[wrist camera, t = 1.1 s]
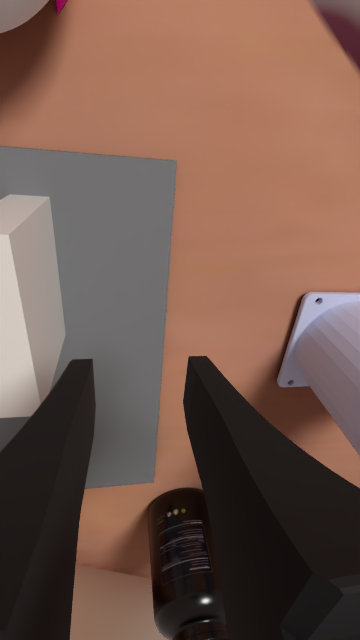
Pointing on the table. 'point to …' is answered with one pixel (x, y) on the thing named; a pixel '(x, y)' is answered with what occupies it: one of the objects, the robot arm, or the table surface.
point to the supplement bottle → (185, 568)
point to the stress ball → (21, 11)
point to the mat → (107, 291)
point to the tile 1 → (28, 304)
